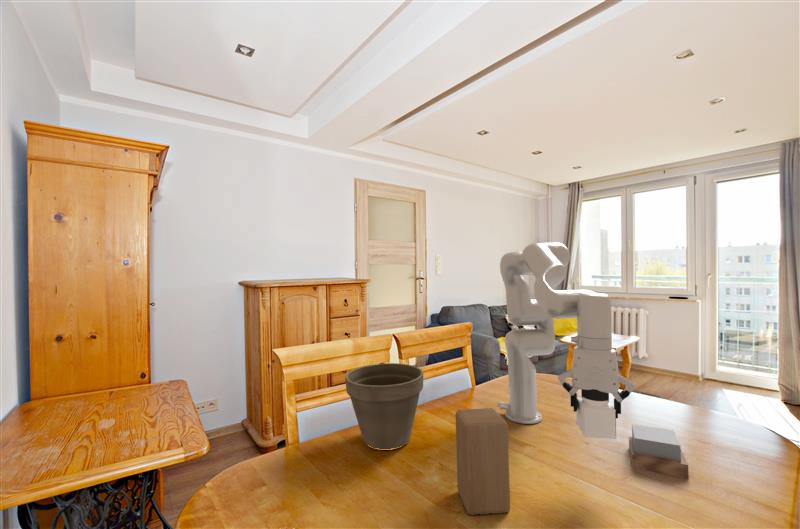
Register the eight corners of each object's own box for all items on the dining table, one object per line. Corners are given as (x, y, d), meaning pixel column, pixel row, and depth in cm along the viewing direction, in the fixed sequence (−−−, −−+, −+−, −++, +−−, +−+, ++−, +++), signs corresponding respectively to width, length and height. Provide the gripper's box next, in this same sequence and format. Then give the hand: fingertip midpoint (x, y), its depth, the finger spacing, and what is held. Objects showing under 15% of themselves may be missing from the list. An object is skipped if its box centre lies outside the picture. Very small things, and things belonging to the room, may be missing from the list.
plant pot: (358, 468, 102) (356, 389, 102) (339, 432, 125) (337, 368, 125) (438, 450, 111) (436, 377, 111) (407, 419, 134) (405, 359, 134)
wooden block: (456, 490, 90) (454, 408, 91) (496, 487, 91) (494, 406, 92) (467, 517, 80) (465, 425, 81) (511, 514, 81) (509, 422, 82)
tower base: (632, 469, 99) (632, 454, 99) (629, 450, 109) (628, 436, 109) (688, 480, 93) (688, 464, 93) (679, 458, 104) (678, 444, 104)
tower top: (635, 452, 100) (634, 438, 100) (632, 437, 109) (631, 423, 109) (681, 461, 95) (680, 445, 95) (674, 444, 104) (673, 430, 104)
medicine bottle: (616, 439, 87) (616, 389, 87) (584, 437, 89) (583, 387, 89) (606, 426, 94) (605, 379, 94) (576, 424, 96) (575, 378, 96)
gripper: (554, 343, 92) (555, 412, 92) (637, 350, 84) (638, 426, 84) (557, 337, 99) (558, 401, 99) (634, 343, 90) (635, 413, 91)
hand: (595, 412), depth 91 cm, fingers closed on medicine bottle, 8 cm apart
